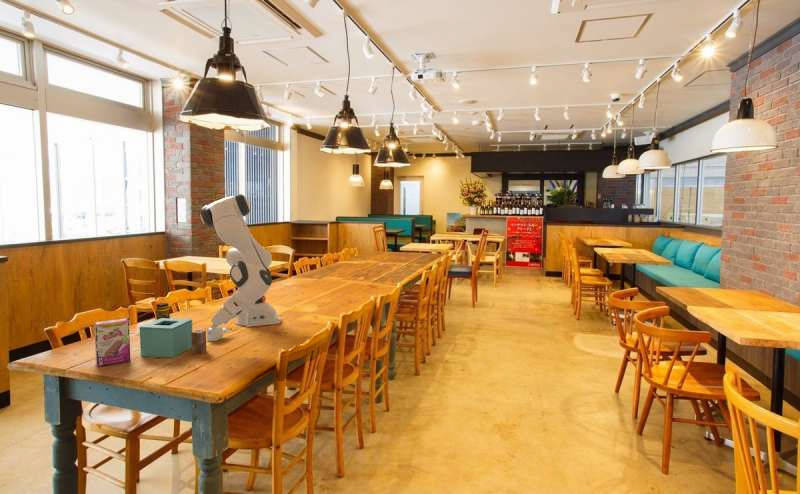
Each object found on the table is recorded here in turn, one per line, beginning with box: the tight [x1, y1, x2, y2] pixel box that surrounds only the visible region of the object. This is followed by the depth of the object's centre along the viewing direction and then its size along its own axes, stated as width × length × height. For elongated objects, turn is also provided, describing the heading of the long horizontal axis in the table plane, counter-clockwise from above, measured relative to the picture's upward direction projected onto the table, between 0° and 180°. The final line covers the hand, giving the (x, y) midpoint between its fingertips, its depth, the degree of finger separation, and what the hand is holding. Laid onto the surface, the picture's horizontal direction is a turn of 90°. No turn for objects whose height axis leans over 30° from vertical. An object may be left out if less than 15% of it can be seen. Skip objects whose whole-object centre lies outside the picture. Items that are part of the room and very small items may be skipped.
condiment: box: [155, 302, 171, 321], centre depth 227 cm, size 7×8×12 cm
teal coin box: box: [139, 318, 193, 358], centre depth 192 cm, size 14×14×12 cm
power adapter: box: [206, 325, 233, 342], centre depth 211 cm, size 11×5×6 cm, turn 150°
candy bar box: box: [93, 318, 131, 368], centre depth 178 cm, size 11×5×16 cm, turn 128°
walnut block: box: [191, 329, 207, 355], centre depth 191 cm, size 4×4×9 cm
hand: (218, 325), depth 189 cm, fingers open, 8 cm apart
